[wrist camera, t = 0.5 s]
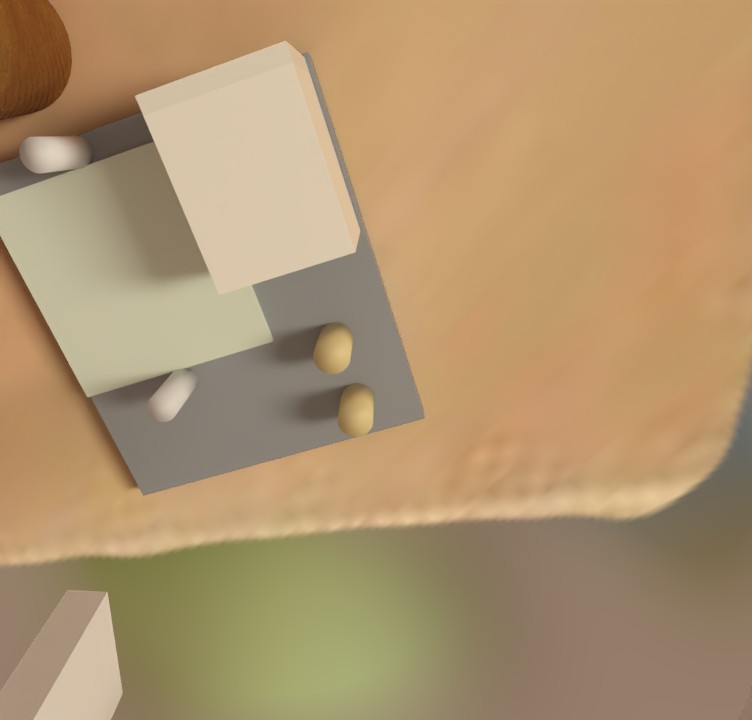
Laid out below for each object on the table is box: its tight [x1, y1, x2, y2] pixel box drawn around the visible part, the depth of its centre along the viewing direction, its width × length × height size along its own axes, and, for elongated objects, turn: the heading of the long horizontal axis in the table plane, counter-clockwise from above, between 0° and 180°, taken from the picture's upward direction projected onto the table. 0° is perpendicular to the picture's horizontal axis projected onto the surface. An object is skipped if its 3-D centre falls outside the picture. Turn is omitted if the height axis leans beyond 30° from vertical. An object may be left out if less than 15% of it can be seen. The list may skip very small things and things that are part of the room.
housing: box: [135, 41, 360, 295], centre depth 28 cm, size 9×7×6 cm
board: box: [0, 52, 424, 496], centre depth 33 cm, size 21×19×5 cm
